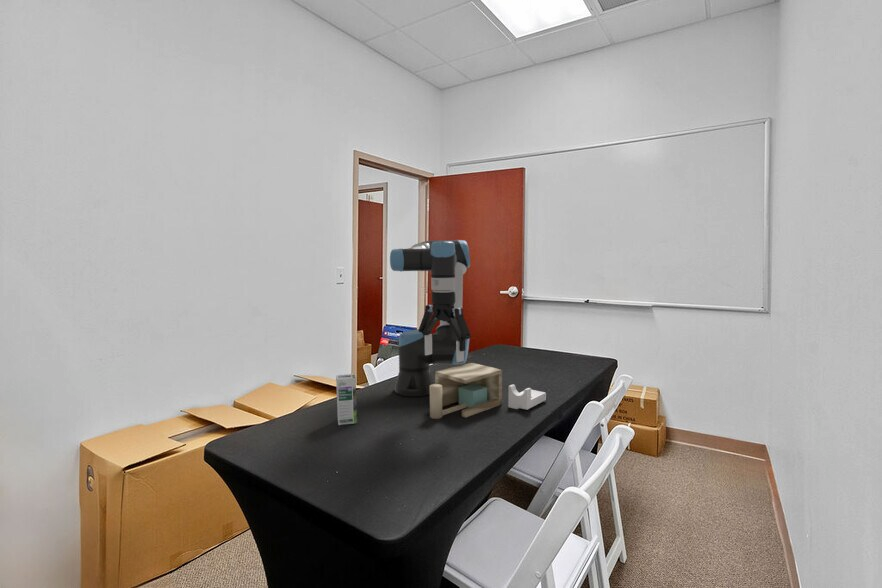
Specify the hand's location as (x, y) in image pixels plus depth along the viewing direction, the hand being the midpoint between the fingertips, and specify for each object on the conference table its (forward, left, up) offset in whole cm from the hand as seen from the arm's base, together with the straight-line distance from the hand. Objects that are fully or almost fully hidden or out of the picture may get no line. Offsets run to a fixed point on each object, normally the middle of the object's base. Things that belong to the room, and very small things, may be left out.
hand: (443, 357), depth 137 cm
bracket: (+11, +28, -20) cm, 36 cm away
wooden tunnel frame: (-2, +13, -19) cm, 23 cm away
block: (-2, +7, -19) cm, 20 cm away
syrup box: (-18, -25, -19) cm, 36 cm away
